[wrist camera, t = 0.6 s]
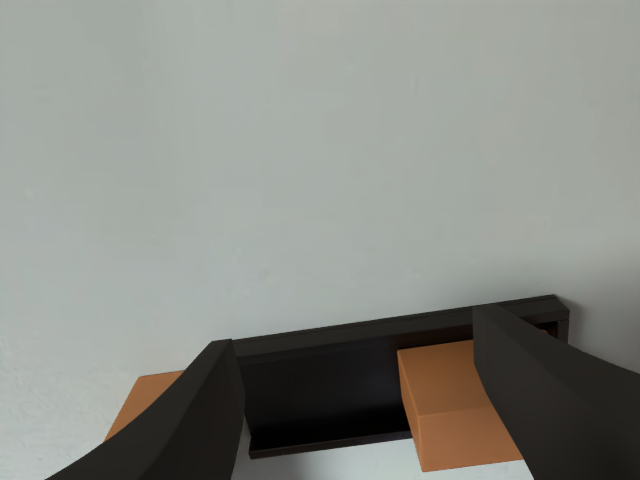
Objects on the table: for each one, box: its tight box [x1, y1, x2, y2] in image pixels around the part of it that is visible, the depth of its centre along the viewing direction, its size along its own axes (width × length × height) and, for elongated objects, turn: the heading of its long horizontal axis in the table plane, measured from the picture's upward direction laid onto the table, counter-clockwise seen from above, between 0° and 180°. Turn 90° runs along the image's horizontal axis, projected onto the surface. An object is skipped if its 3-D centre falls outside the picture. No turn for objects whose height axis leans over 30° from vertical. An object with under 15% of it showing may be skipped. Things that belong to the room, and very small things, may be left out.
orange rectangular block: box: [104, 370, 185, 442], centre depth 24 cm, size 3×8×5 cm, turn 9°
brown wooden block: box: [397, 330, 549, 472], centre depth 23 cm, size 3×8×5 cm, turn 99°
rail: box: [232, 294, 570, 460], centre depth 25 cm, size 7×18×2 cm, turn 99°
